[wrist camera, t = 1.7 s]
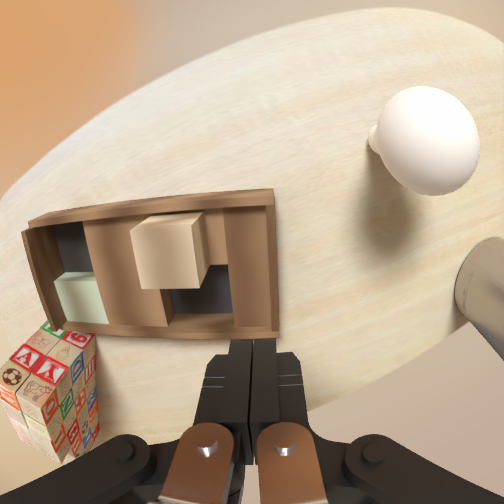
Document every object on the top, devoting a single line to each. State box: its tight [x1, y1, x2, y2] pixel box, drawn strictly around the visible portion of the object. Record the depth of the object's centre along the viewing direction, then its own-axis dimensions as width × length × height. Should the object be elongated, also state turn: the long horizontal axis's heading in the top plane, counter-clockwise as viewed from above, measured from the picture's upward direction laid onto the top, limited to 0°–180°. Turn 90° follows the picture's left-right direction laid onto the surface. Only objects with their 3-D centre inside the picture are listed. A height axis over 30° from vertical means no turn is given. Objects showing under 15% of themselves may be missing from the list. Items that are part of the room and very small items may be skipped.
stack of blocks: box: [0, 320, 99, 465], centre depth 26 cm, size 21×6×12 cm, turn 162°
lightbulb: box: [368, 86, 480, 196], centre depth 16 cm, size 6×6×11 cm
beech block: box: [130, 211, 210, 289], centre depth 20 cm, size 4×4×4 cm
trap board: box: [21, 189, 279, 339], centre depth 23 cm, size 21×11×4 cm, turn 94°
